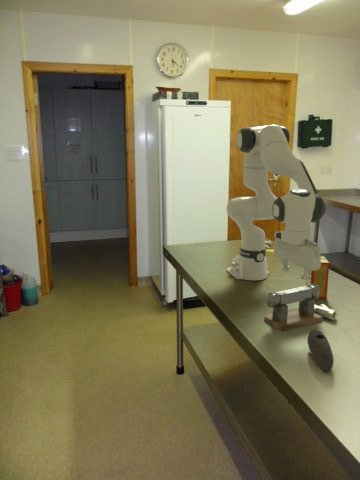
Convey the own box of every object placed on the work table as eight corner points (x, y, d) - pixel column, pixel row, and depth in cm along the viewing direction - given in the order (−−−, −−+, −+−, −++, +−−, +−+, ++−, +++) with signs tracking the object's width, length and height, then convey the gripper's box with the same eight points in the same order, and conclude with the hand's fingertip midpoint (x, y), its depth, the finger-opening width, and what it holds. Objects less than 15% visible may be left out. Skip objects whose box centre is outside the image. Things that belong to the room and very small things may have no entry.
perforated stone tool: (338, 377, 101) (340, 354, 100) (318, 376, 102) (319, 354, 100) (323, 349, 116) (324, 328, 114) (305, 348, 116) (306, 328, 115)
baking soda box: (326, 299, 153) (329, 261, 150) (310, 298, 154) (312, 261, 151) (321, 290, 163) (323, 255, 159) (305, 290, 163) (307, 255, 160)
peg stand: (264, 319, 136) (264, 300, 135) (302, 310, 143) (303, 292, 142) (281, 331, 127) (282, 310, 126) (322, 320, 134) (323, 301, 133)
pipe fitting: (319, 310, 144) (310, 315, 139) (320, 301, 143) (311, 305, 139) (339, 317, 138) (331, 321, 134) (340, 307, 138) (332, 311, 133)
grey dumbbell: (264, 304, 131) (264, 293, 130) (312, 293, 140) (313, 283, 139) (272, 308, 127) (272, 297, 127) (321, 297, 136) (322, 287, 135)
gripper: (327, 242, 120) (323, 283, 124) (285, 229, 138) (283, 265, 142) (312, 245, 118) (309, 286, 121) (271, 231, 136) (270, 267, 139)
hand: (294, 274), depth 132 cm, fingers open, 8 cm apart
